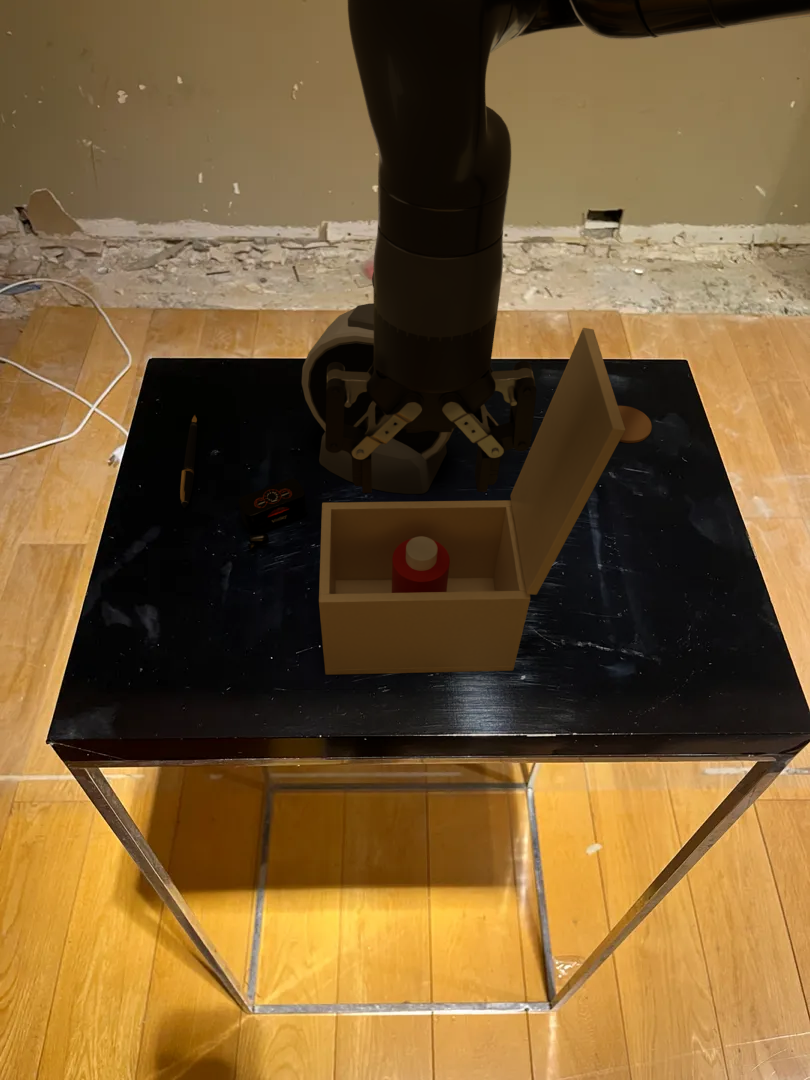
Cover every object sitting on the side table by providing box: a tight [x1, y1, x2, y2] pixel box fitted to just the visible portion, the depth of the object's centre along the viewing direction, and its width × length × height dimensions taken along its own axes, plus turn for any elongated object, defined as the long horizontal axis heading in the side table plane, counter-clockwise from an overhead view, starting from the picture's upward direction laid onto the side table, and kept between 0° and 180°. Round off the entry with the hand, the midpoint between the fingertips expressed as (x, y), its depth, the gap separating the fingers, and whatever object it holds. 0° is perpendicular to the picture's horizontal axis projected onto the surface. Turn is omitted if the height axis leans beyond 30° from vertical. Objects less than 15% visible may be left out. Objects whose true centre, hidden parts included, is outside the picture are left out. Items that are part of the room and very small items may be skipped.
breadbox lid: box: [509, 327, 625, 596], centre depth 61 cm, size 18×11×1 cm
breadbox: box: [318, 499, 532, 676], centre depth 72 cm, size 17×11×11 cm, turn 92°
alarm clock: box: [301, 302, 455, 495], centre depth 83 cm, size 16×10×18 cm, turn 69°
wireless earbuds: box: [238, 478, 307, 552], centre depth 82 cm, size 5×7×3 cm, turn 120°
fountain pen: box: [179, 414, 198, 509], centre depth 88 cm, size 14×1×2 cm, turn 5°
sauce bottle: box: [392, 536, 450, 593], centre depth 72 cm, size 5×5×10 cm
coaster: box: [618, 405, 653, 444], centre depth 94 cm, size 6×6×1 cm
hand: (424, 484), depth 62 cm, fingers open, 8 cm apart
